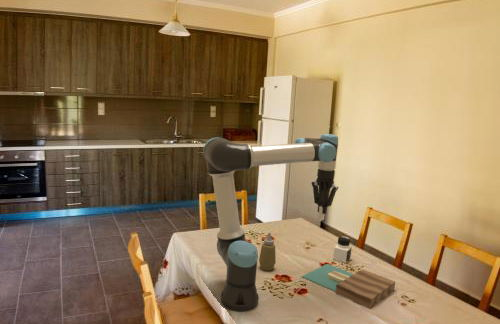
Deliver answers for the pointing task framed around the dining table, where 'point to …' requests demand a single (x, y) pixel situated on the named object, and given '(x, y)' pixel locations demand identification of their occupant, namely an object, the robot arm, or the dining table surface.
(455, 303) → the dining table surface
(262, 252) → the squeeze bottle
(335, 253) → the medicine bottle
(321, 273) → the mat
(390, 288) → the block
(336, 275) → the tile
